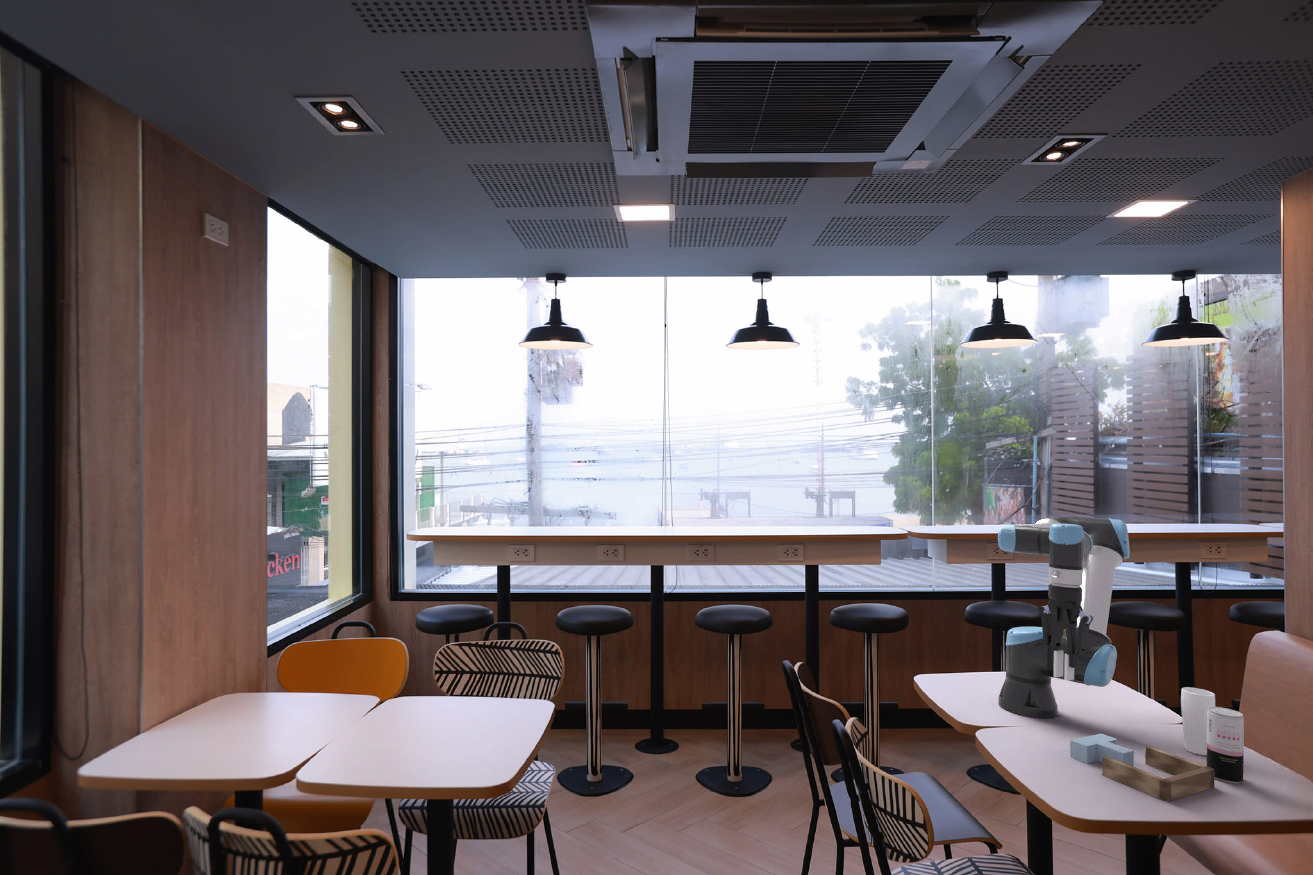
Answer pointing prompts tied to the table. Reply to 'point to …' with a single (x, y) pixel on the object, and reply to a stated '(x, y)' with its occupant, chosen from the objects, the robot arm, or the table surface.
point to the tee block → (1100, 749)
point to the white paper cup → (1195, 718)
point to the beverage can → (1225, 744)
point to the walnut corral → (1182, 784)
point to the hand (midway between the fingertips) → (1063, 677)
